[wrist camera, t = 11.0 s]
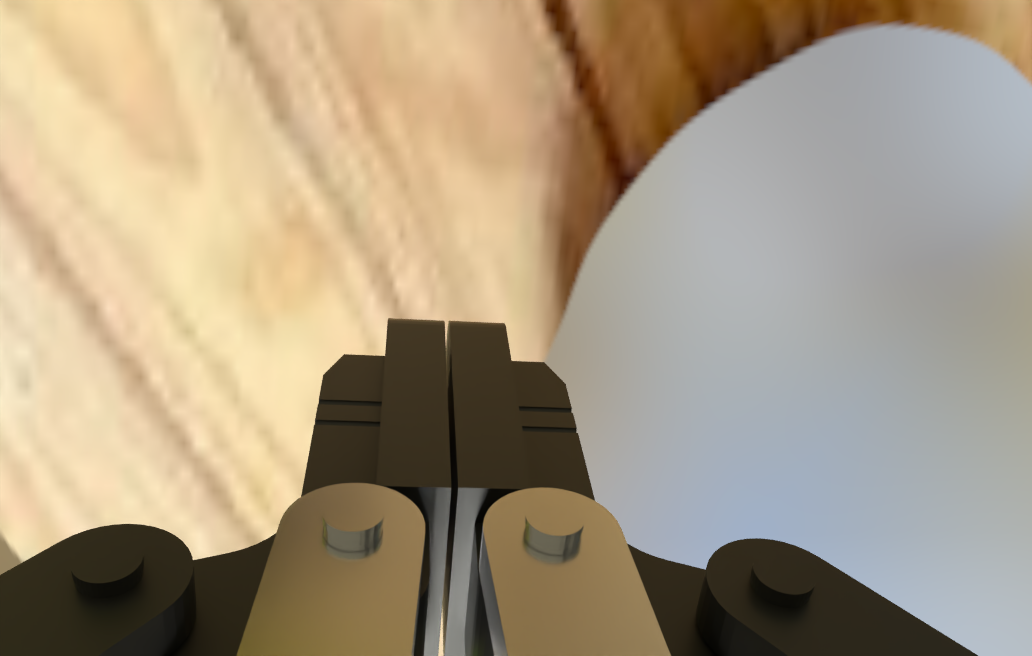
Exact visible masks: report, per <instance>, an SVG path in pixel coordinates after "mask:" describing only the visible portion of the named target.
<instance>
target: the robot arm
mask: <svg viewBox="0 0 1032 656" xmlns="http://www.w3.org/2000/svg"><path fill="white" fill-rule="evenodd" d="M571 409H572V408H571V404H570V400H569V396H568V392H567V389H566V384H565V383H564V382H563V381H562V380H561V379H560V378H559V377H558V376H557V375H556V374H555V373H554V372H553V371H552V370H551V369H550V368H549V367H548V366H547V365H546V364H545V363H544V362H521V361H511V356H510V349H509V343H508V337H507V331H506V326H505V324H504V323H483V322H461V321H449V323H448V330H447V342H446V345H445V323H444V321H436V320H414V319H392V318H388V326H387V339H386V353H385V356H370V355H346V354H344V355H343V356H342V357H341V358H340V359H339V360H338V361H337V362H336V363H335V364H334V365H333V366H332V367H331V368H330V369H329V370H328V371H327V372H326V373H325V374H324V375H323V380H322V385H321V391H320V396H319V404H318V407H317V413H316V418H315V425H314V429H313V435H312V440H311V446H310V451H309V457H308V462H307V468H306V473H305V479H304V484H303V490H302V495H301V498H299V499H297V500H296V501H295V502H294V503H293V504H292V505H291V506H289V508H288V509H287V510H286V512H285V513H284V515H283V517H282V519H281V521H280V524H279V527H278V530H277V533H276V534H274V535H273V536H271V537H270V538H268V539H266V540H264V541H262V542H260V543H258V544H256V545H253V546H251V547H248V548H245V549H242V550H238V551H235V552H231V553H226V554H222V555H217V556H212V557H207V558H202V559H198V560H193V559H192V555H191V553H190V551H189V549H188V547H187V546H186V545H185V544H184V542H183V541H181V540H180V539H179V538H178V537H176V536H175V535H173V534H171V533H169V532H167V531H165V530H162V529H159V528H156V527H152V526H146V525H138V524H119V525H109V526H103V527H98V528H94V529H90V530H86V531H84V532H81V533H78V534H75V535H73V536H71V537H69V538H67V539H64V540H62V541H60V542H59V543H57V544H55V545H53V546H51V547H50V548H48V549H46V550H44V551H42V552H41V553H39V554H37V555H35V556H34V557H32V558H30V559H28V560H26V561H25V562H23V563H21V564H19V565H17V566H16V567H14V568H12V569H11V570H8V571H7V572H5V573H3V574H1V575H0V656H438V651H439V638H440V625H441V613H442V609H443V652H444V656H978V655H976V654H975V653H973V652H971V651H970V650H968V649H966V648H965V647H963V646H962V645H960V644H958V643H956V642H955V641H953V640H952V639H950V638H949V637H947V636H945V635H944V634H942V633H941V632H939V631H937V630H936V629H934V628H932V627H931V626H929V625H928V624H926V623H924V622H923V621H921V620H920V619H918V618H916V617H915V616H913V615H911V614H910V613H908V612H907V611H905V610H903V609H902V608H900V607H899V606H897V605H895V604H894V603H892V602H891V601H889V600H887V599H886V598H884V597H882V596H881V595H879V594H878V593H876V592H874V591H873V590H871V589H870V588H868V587H866V586H865V585H863V584H861V583H860V582H858V581H857V580H855V579H853V578H851V577H850V576H848V575H847V574H845V573H844V572H842V571H840V570H839V569H837V568H836V567H834V566H832V565H831V564H829V563H827V562H826V561H824V560H823V559H821V558H819V557H818V556H816V555H814V554H812V553H810V552H809V551H806V550H804V549H802V548H799V547H797V546H794V545H791V544H788V543H785V542H780V541H775V540H768V539H744V540H737V541H734V542H731V543H728V544H726V545H724V546H722V547H720V548H719V549H718V550H717V551H715V552H714V554H713V555H712V556H711V558H710V559H709V562H708V564H707V568H706V570H704V569H700V568H696V567H692V566H688V565H684V564H680V563H676V562H672V561H668V560H665V559H661V558H658V557H655V556H652V555H649V554H646V553H645V552H642V551H640V550H638V549H636V548H634V547H632V546H631V545H629V544H627V542H626V540H625V537H624V535H623V532H622V529H621V527H620V526H619V524H618V522H617V520H616V519H615V518H614V516H613V515H612V514H611V513H610V512H609V511H608V510H607V509H606V508H604V507H603V506H602V505H600V504H599V503H597V502H596V501H595V499H594V495H593V491H592V487H591V483H590V479H589V475H588V471H587V468H586V463H585V459H584V455H583V452H582V447H581V444H580V440H579V436H578V433H576V424H575V420H574V416H573V413H571Z"/></svg>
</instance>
